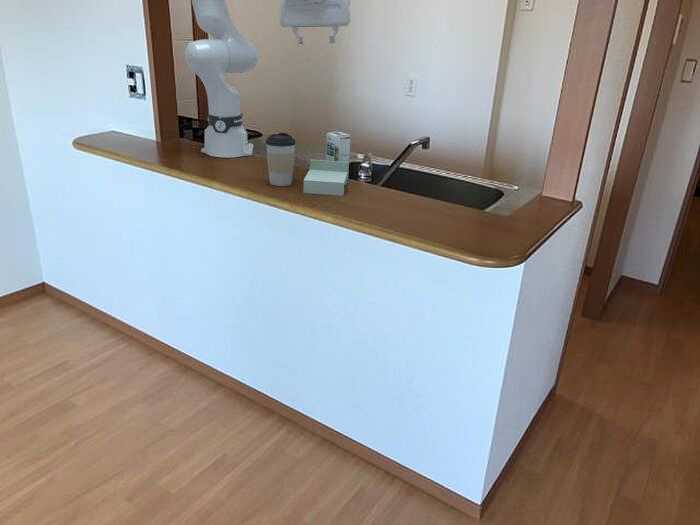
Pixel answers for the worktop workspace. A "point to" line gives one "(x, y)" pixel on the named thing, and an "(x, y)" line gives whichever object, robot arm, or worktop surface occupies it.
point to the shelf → (326, 177)
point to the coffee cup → (280, 158)
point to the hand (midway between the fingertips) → (316, 43)
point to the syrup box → (338, 147)
